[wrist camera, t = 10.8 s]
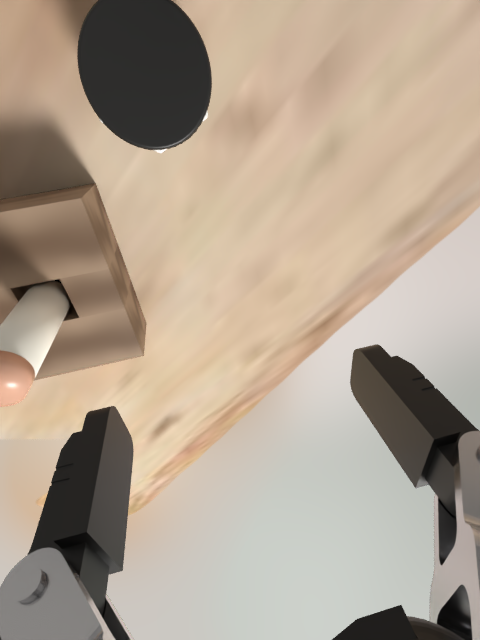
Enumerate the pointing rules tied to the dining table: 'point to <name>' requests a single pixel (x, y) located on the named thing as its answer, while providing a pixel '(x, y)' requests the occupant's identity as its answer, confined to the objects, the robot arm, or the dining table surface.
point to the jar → (145, 71)
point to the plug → (29, 337)
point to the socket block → (71, 276)
